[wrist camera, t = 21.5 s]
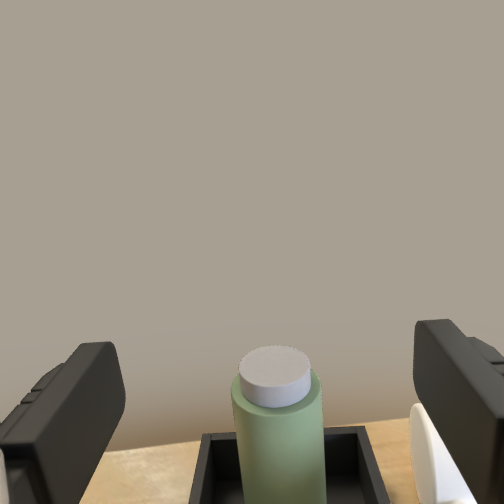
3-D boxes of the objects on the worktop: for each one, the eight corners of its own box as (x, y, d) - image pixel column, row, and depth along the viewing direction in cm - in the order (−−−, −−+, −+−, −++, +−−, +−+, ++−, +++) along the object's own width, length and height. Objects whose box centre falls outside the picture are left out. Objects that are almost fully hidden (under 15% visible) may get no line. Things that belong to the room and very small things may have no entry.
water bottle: (322, 515, 30) (314, 337, 25) (335, 595, 25) (327, 390, 20) (252, 518, 30) (231, 342, 26) (250, 597, 25) (223, 396, 21)
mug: (407, 458, 35) (410, 382, 33) (531, 465, 33) (544, 385, 31) (447, 616, 24) (456, 519, 21) (638, 641, 22) (671, 537, 20)
